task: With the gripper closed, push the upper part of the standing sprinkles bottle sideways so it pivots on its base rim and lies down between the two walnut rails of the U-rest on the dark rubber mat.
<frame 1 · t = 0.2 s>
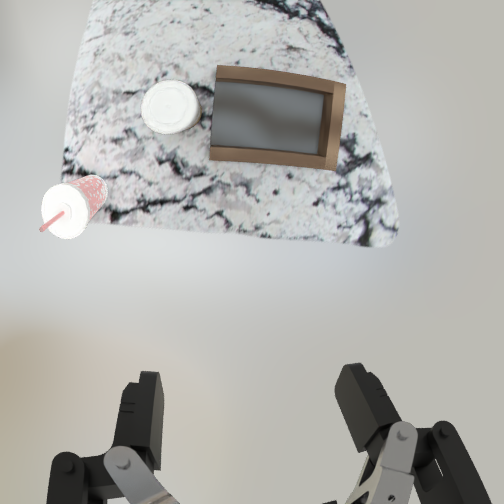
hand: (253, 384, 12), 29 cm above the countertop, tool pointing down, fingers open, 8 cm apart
sprinkles bottle: (183, 112, 32), on the countertop
beverage cup: (93, 191, 34), on the countertop
u rest: (266, 116, 33), on the countertop
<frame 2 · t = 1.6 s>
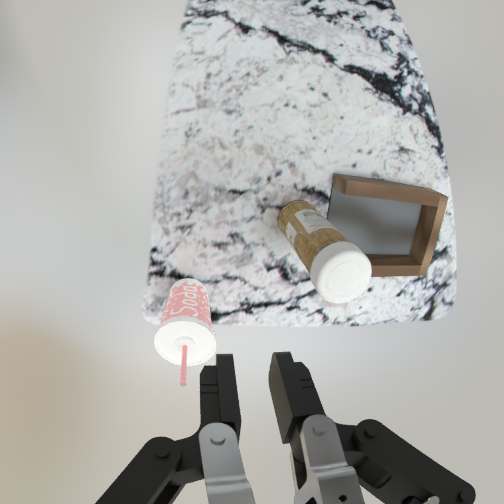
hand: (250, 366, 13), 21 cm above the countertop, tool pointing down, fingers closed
sprinkles bottle: (297, 218, 33), on the countertop
beverage cup: (189, 293, 35), on the countertop
u rest: (373, 223, 34), on the countertop
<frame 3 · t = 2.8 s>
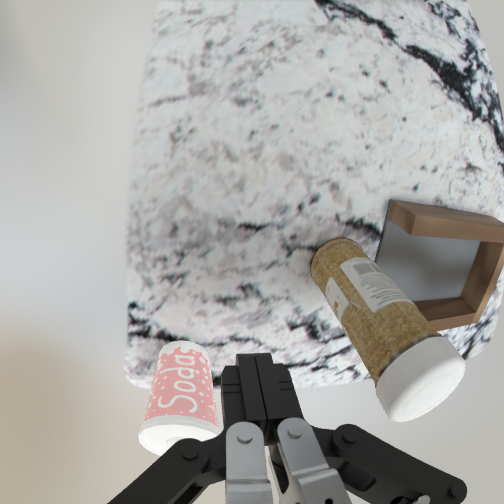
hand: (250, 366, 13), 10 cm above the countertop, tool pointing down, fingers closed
sprinkles bottle: (336, 261, 23), on the countertop
beverage cup: (184, 356, 25), on the countertop
u rest: (428, 263, 24), on the countertop
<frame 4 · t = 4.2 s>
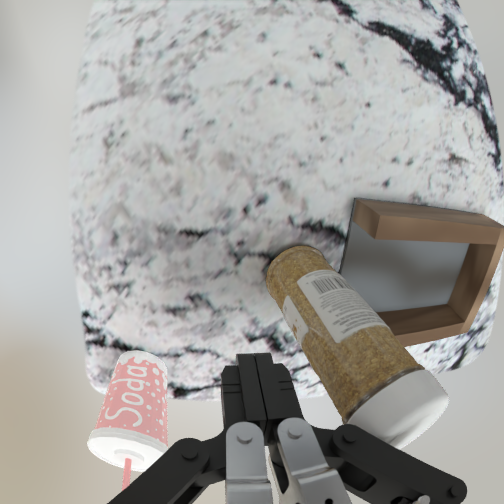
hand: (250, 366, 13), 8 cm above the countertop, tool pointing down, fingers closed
sprinkles bottle: (294, 271, 21), on the countertop, touching hand
beverage cup: (142, 366, 23), on the countertop
u rest: (407, 268, 22), on the countertop
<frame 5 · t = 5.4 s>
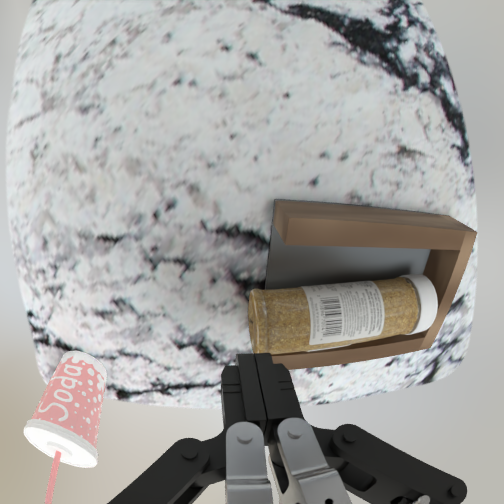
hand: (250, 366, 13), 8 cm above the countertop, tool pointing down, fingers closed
sprinkles bottle: (247, 323, 19), point 2 cm above the countertop, touching u rest
beverage cup: (84, 366, 22), on the countertop
u rest: (351, 277, 21), on the countertop
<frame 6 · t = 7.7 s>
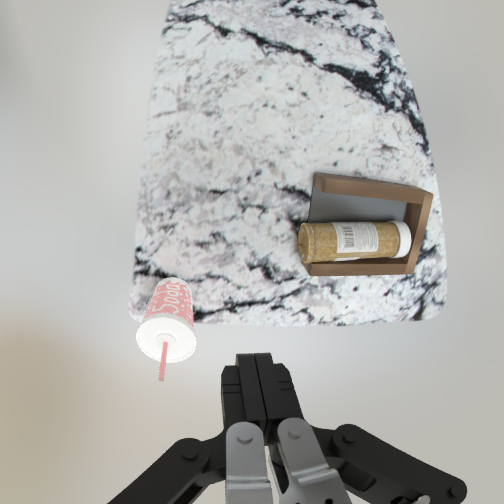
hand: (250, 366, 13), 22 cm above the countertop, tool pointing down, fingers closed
sprinkles bottle: (300, 242, 32), point 2 cm above the countertop, touching u rest
beverage cup: (173, 292, 36), on the countertop
u rest: (357, 222, 35), on the countertop
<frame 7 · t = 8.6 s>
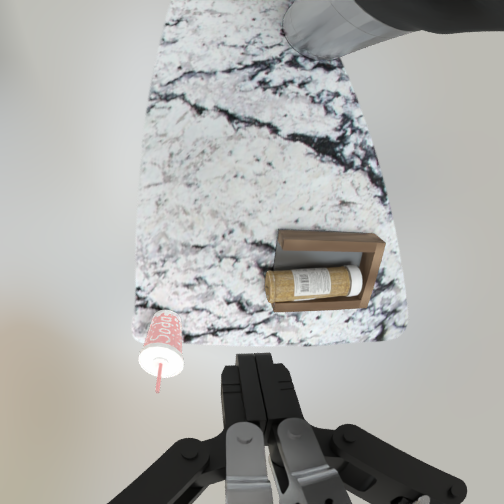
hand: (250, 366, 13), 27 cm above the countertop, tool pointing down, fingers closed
sprinkles bottle: (265, 286, 40), point 2 cm above the countertop, touching u rest
beverage cup: (167, 320, 44), on the countertop
u rest: (316, 266, 43), on the countertop
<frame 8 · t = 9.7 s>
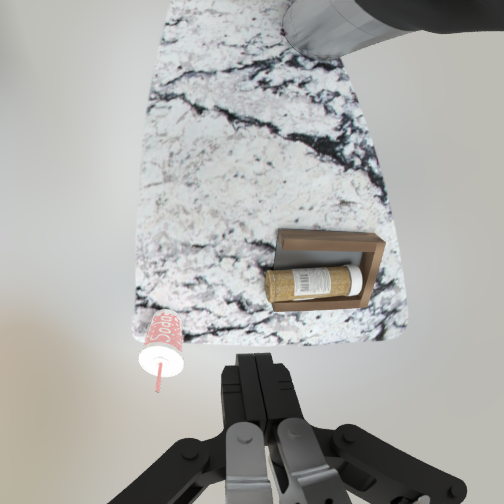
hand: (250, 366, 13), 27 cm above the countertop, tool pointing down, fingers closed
sprinkles bottle: (265, 286, 40), point 2 cm above the countertop, touching u rest
beverage cup: (167, 320, 44), on the countertop
u rest: (316, 265, 43), on the countertop
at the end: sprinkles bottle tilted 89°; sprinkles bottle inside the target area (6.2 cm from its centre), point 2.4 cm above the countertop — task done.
